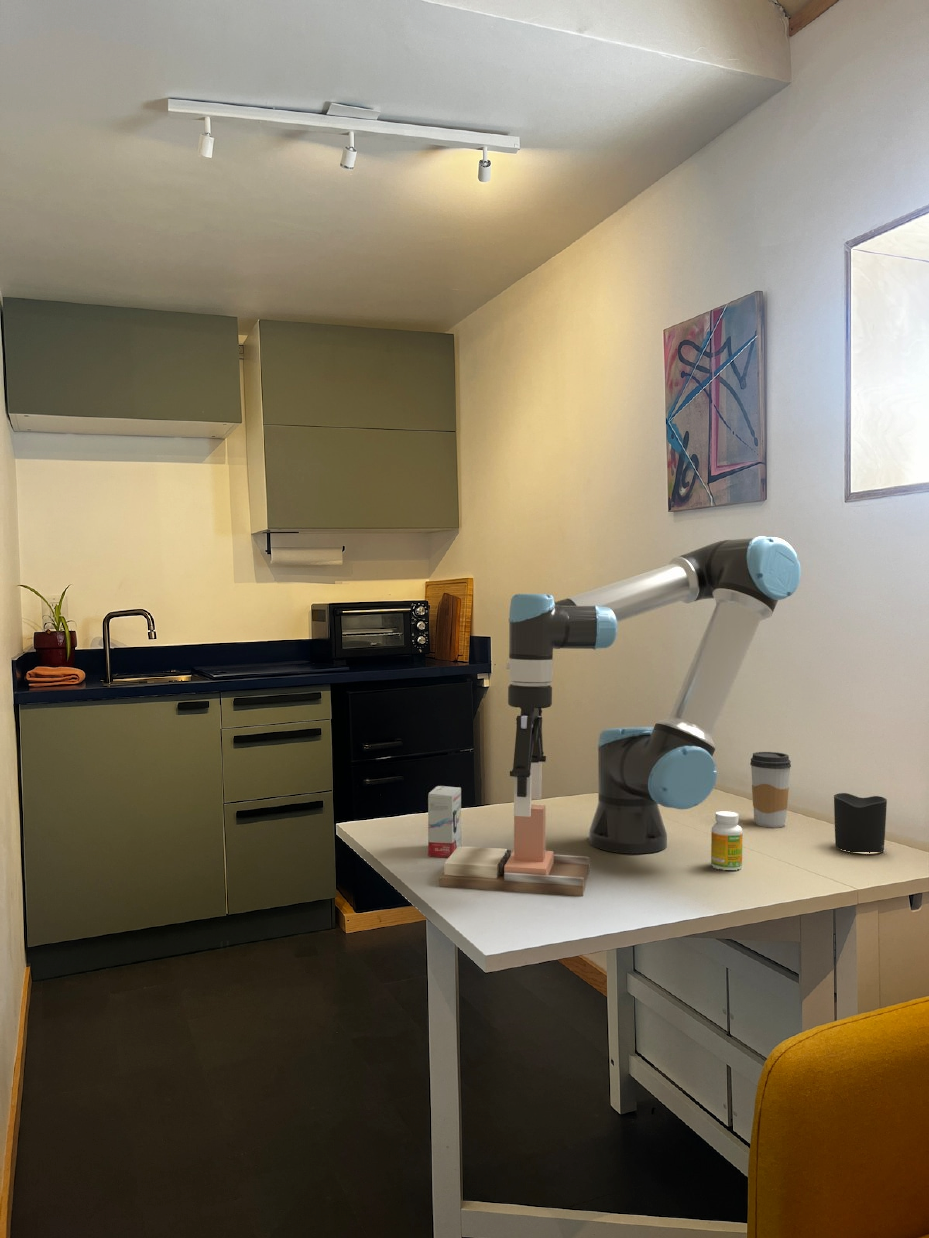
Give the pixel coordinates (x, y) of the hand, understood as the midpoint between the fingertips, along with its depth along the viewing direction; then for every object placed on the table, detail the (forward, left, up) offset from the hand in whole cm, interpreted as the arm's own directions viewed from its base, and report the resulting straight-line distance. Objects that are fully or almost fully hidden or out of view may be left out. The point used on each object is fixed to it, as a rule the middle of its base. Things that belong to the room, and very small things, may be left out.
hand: (528, 807), depth 160 cm
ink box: (+18, -14, -13) cm, 26 cm away
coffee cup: (-45, -50, -13) cm, 68 cm away
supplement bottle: (-34, -15, -13) cm, 39 cm away
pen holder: (-60, -33, -13) cm, 70 cm away
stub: (0, 0, -11) cm, 11 cm away
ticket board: (+2, 0, -12) cm, 13 cm away
